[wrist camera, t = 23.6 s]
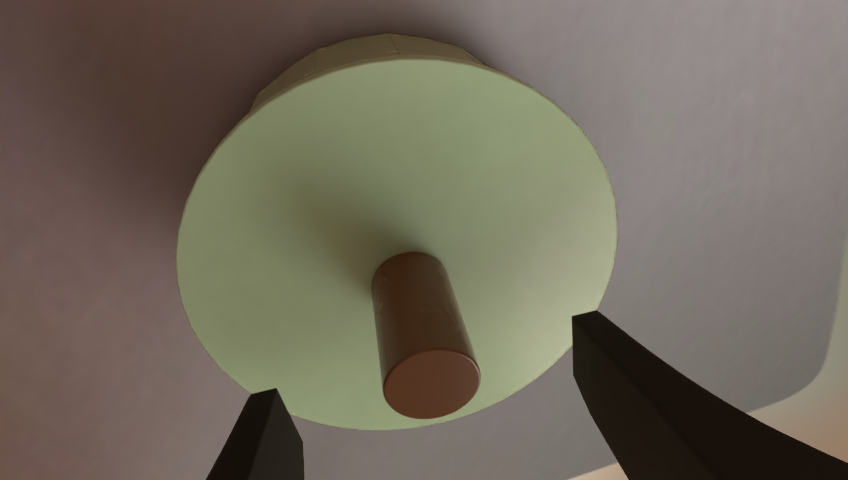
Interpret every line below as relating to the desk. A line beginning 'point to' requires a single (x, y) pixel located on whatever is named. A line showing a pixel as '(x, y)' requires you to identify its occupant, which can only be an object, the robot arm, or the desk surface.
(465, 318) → the lid
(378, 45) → the pot
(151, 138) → the desk surface
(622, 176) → the desk surface
